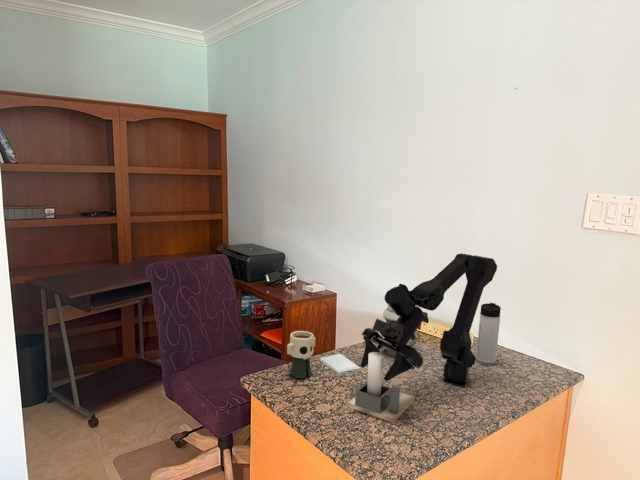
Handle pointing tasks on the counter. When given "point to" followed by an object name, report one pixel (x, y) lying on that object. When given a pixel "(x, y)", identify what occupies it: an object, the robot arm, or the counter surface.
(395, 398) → the cup bracket
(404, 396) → the mounting board
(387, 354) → the apothecary jar
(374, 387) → the white tall cylinder
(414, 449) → the counter surface
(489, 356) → the travel mug
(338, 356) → the hard drive
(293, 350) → the character mug
